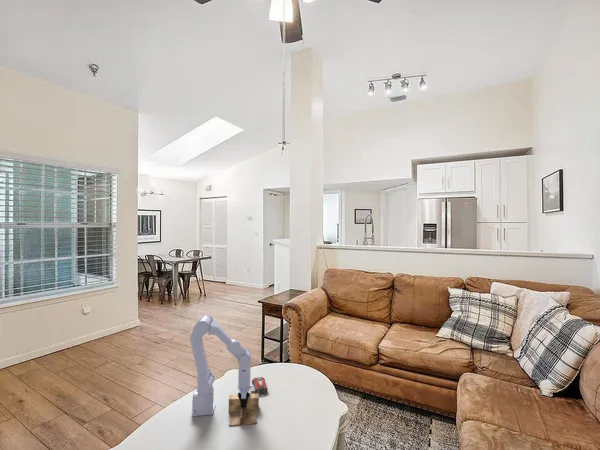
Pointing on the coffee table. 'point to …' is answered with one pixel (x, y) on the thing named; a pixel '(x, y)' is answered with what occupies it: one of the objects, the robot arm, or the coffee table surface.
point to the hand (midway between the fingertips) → (243, 404)
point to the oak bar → (236, 405)
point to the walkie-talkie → (258, 386)
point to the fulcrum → (243, 418)
